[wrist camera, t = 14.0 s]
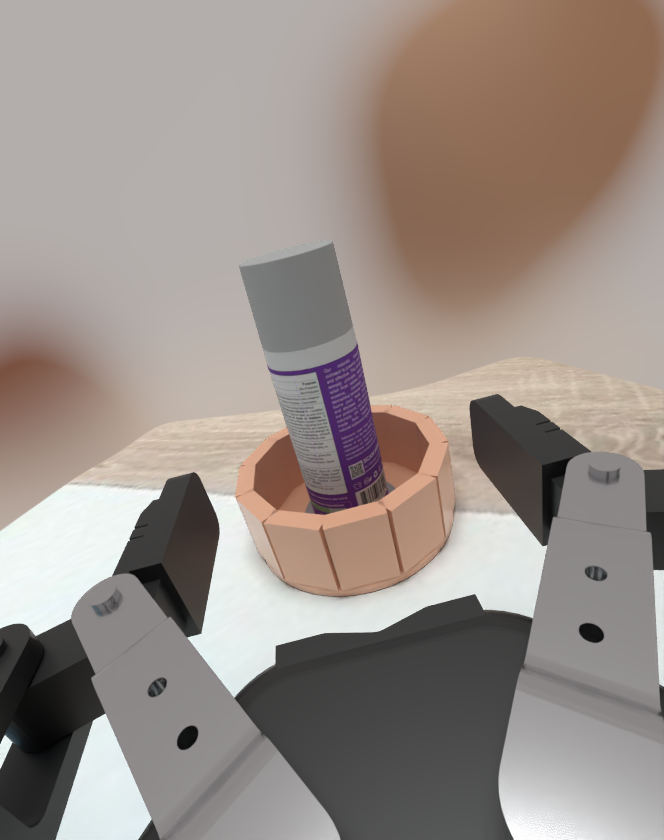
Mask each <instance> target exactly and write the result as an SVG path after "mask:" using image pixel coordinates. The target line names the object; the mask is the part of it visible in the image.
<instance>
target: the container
mask: <svg viewBox="0 0 664 840" xmlns="http://www.w3.org/2000/svg"><path fill="white" fill-rule="evenodd" d="M239 268H240V271H241V275H242V278H243V282H244V285H245V289H246V292H247V296H248V299H249V302H250V306H251V309H252V312H253V316H254V320H255V323H256V327H257V330H258V334H259V337H260V340H261V344H262V348H263V351H264V355H265V358H266V361H267V366H268V369H269V372H270V375H271V378H272V381H273V384H274V388H275V391H276V394H277V397H278V400H279V403H280V406H281V410H282V413H283V416H284V419H285V422H286V425H287V429H288V432H289V435H290V438H291V441H292V444H293V447H294V451H295V454H296V457H297V460H298V463H299V466H300V469H301V473H302V476H303V479H304V482H305V485H306V488H307V491H308V495H309V498H310V501H311V504H312V507H313V510H314V513H315V514H319V515H326V514H330V513H334V512H338V511H342V510H346V509H349V508H353V507H357V506H361V505H365V504H368V503H372V502H376V501H379V500H381V499H382V498H384V497H385V496H386V495H388V494H389V493H388V488H387V483H386V478H385V473H384V469H383V464H382V459H381V454H380V450H379V445H378V440H377V435H376V430H375V426H374V421H373V416H372V411H371V406H370V402H369V397H368V392H367V387H366V383H365V378H364V373H363V368H362V364H361V359H360V354H359V350H358V344H357V341H356V337H355V333H354V329H353V325H352V320H351V316H350V312H349V307H348V303H347V299H346V295H345V290H344V287H343V282H342V278H341V274H340V270H339V265H338V261H337V257H336V253H335V249H334V244H333V241H320V242H314V243H309V244H304V245H300V246H296V247H291V248H288V249H284V250H280V251H276V252H273V253H269V254H266V255H263V256H259V257H257V258H253V259H251V260H248V261H246V262H243V263H241V264H240V265H239Z"/></svg>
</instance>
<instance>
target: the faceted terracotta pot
mask: <svg viewBox="0 0 664 840" xmlns="http://www.w3.org/2000/svg"><path fill="white" fill-rule="evenodd" d="M370 406H371V411H372V416H373V421H374V426H375V430H376V435H377V440H378V445H379V450H380V454H381V459H382V464H383V469H384V473H385V478H386V483H387V488H388V493H389V494H388V495H386V496H385V497H384V498H382V499H381V500H379V501H376V502H372V503H368V504H365V505H361V506H357V507H353V508H349V509H346V510H342V511H338V512H334V513H330V514H326V515H319V514H315V513H314V510H313V507H312V504H311V501H310V498H309V495H308V491H307V488H306V485H305V482H304V479H303V476H302V473H301V469H300V466H299V463H298V460H297V457H296V454H295V451H294V447H293V444H292V441H291V438H290V435H289V432H288V429H287V427H286V428H285V429H283V430H281V431H279V432H277V433H275V434H273V435H271V436H270V437H268V439H265V440H264V441H263V442H262V443H261V444H260V445H259V447H258V448H257V449H256V450H255V451H254V452H253V453H252V454H251V455H250V456H249V457H248V458H247V459H246V460H245V461H244V462H243V463H242V464H241V467H240V468H239V475H238V481H237V488H236V495H235V497H236V500H237V502H238V504H239V507H240V509H241V512H242V514H243V517H244V519H245V521H246V524H247V526H248V529H249V531H250V533H251V536H252V538H253V541H254V543H255V545H256V548H257V550H258V552H259V553H260V555H261V556H262V557H263V558H264V559H265V560H266V563H267V565H268V566H269V568H270V569H271V570H272V572H273V573H274V574H275V575H276V576H277V577H279V578H280V579H281V580H282V581H284V582H285V583H287V584H289V585H290V586H292V587H295V588H297V589H299V590H301V591H305V592H309V593H312V594H318V595H325V596H350V595H360V594H364V593H369V592H374V591H377V590H380V589H383V588H386V587H389V586H392V585H394V584H396V583H398V582H401V581H403V580H405V579H406V578H408V577H410V576H411V575H413V574H415V573H416V572H418V571H419V570H420V569H422V568H423V567H424V566H426V565H427V564H428V563H429V562H430V561H431V560H432V559H433V558H434V557H435V556H436V555H437V554H438V552H439V551H440V550H441V548H442V547H443V546H444V544H445V542H446V540H447V539H448V537H449V534H450V531H451V529H452V525H453V518H454V513H453V509H454V505H455V501H456V500H455V492H454V484H453V476H452V467H451V459H450V451H449V443H448V440H447V439H446V437H445V436H444V435H443V433H442V432H441V431H440V429H439V428H438V427H437V425H436V424H435V423H434V421H433V420H432V419H431V417H430V418H429V416H427V415H423V414H420V413H417V412H414V411H411V410H408V409H404V408H401V407H398V406H395V405H394V406H393V407H392V405H370Z"/></svg>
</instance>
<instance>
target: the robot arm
mask: <svg viewBox="0 0 664 840" xmlns="http://www.w3.org/2000/svg"><path fill="white" fill-rule="evenodd" d="M470 418H471V429H472V439H473V449H474V454H475V457H476V460H477V462H478V464H479V466H480V468H481V469H482V471H483V472H484V473H485V474H486V476H487V477H488V478H489V479H490V481H491V482H492V483H493V484H494V486H495V487H496V488H497V489H498V491H499V492H500V493H501V494H502V496H503V497H504V498H505V499H506V501H507V502H508V503H509V504H510V506H511V507H512V508H513V510H514V511H515V512H516V513H517V515H518V516H519V517H520V518H521V520H522V521H523V522H524V523H525V525H526V526H527V527H528V528H529V530H530V531H531V532H532V533H533V535H534V536H535V537H536V538H537V540H538V541H539V542H540V543H541V545H542V546H546V545H547V550H546V555H545V561H544V566H543V571H542V576H541V581H540V586H539V591H538V596H537V601H536V606H535V611H534V617H533V618H530V617H527V616H523V615H520V614H516V613H511V612H506V611H497V610H483V608H482V606H481V604H480V603H479V601H478V599H477V597H476V595H475V594H474V595H470V596H466V597H462V598H458V599H455V600H451V601H447V602H443V603H439V604H435V605H431V606H428V607H425V608H423V609H421V610H419V611H417V612H416V613H414V614H412V615H410V616H408V617H406V618H404V619H402V620H401V621H399V622H397V623H395V624H393V625H391V626H389V627H387V628H386V629H384V630H381V631H379V632H370V633H324V634H320V635H316V636H312V637H308V638H304V639H301V640H297V641H293V642H289V643H285V644H281V645H278V646H276V664H275V665H273V666H271V667H269V668H268V669H266V670H265V671H264V672H262V673H261V674H259V675H258V676H256V677H255V678H254V679H253V680H252V681H250V682H249V683H248V684H247V685H246V686H245V687H244V688H243V689H242V690H241V691H240V692H239V693H238V694H237V695H236V696H235V698H234V697H233V696H232V695H231V693H230V692H229V691H228V690H227V688H226V687H225V686H224V685H223V683H222V682H221V681H220V679H219V678H218V677H217V676H216V674H215V673H214V672H213V670H212V669H211V668H210V667H209V665H208V664H207V663H206V662H205V660H204V659H203V658H202V656H201V655H200V654H199V653H198V651H197V650H196V649H195V647H194V646H193V645H192V644H191V642H190V641H189V640H188V638H187V637H190V636H194V635H198V634H201V632H202V627H203V621H204V616H205V610H206V605H207V600H208V594H209V589H210V583H211V578H212V572H213V567H214V562H215V556H216V551H217V545H218V540H219V523H218V519H217V516H216V513H215V511H214V509H213V506H212V504H211V502H210V500H209V497H208V495H207V493H206V491H205V489H204V486H203V484H202V482H201V480H200V478H199V476H198V475H197V474H196V473H195V472H193V473H189V474H185V475H182V476H178V477H174V478H170V479H168V480H167V481H166V484H165V486H164V488H163V491H162V493H161V495H160V498H159V499H157V500H153V501H152V502H151V504H150V505H149V506H148V507H147V508H146V509H145V510H144V511H143V512H142V513H141V515H140V517H139V519H138V521H137V523H136V525H135V530H133V532H132V534H131V536H130V538H129V539H130V541H128V543H127V545H126V547H125V549H124V552H123V554H122V556H121V558H120V560H119V562H118V565H117V567H116V569H115V571H114V573H113V575H112V577H109V578H107V579H105V580H103V581H101V582H100V583H98V584H96V585H95V586H94V587H92V588H91V589H90V590H89V591H87V592H86V593H85V594H84V595H83V596H82V597H81V599H80V600H79V601H78V602H77V604H76V606H75V607H74V609H73V612H72V615H71V619H70V620H68V621H66V622H64V623H62V624H60V625H58V626H56V627H54V628H52V629H50V630H48V631H46V632H44V633H42V634H40V635H38V636H35V635H34V634H33V632H32V631H31V630H30V629H29V628H28V627H27V625H24V624H13V625H9V626H6V627H3V628H1V629H0V743H1V741H2V739H3V737H4V735H6V736H7V737H8V738H9V739H10V740H11V741H12V742H13V743H12V745H11V747H10V749H9V752H8V754H7V756H6V758H5V760H4V763H3V765H2V767H1V769H0V840H55V839H56V836H57V833H58V830H59V827H60V824H61V820H62V817H63V814H64V811H65V808H66V805H67V801H68V798H69V795H70V792H71V789H72V786H73V782H74V779H75V776H76V773H77V770H78V767H79V763H80V760H81V757H82V754H83V751H84V748H85V744H86V741H87V738H88V735H89V732H90V728H91V725H92V722H93V720H95V719H96V718H98V717H100V716H102V715H103V714H105V713H106V715H107V718H108V720H109V722H110V724H111V727H112V729H113V731H114V734H115V736H116V738H117V740H118V743H119V745H120V747H121V750H122V752H123V754H124V756H125V759H126V761H127V763H128V766H129V768H130V770H131V772H132V775H133V777H134V779H135V782H136V784H137V786H138V788H139V791H140V793H141V795H142V798H143V800H144V802H145V804H146V807H147V809H148V811H149V814H150V816H151V818H152V820H151V821H150V823H149V824H148V826H147V827H146V829H145V830H144V832H143V833H142V835H141V836H140V838H139V839H138V840H664V687H663V686H661V685H659V674H658V654H657V634H656V614H655V595H654V575H653V570H664V469H662V470H643V469H642V467H641V466H640V465H639V464H638V463H637V462H635V461H634V460H632V459H630V458H628V457H625V456H622V455H619V454H615V453H609V452H591V451H590V450H588V449H587V448H586V447H585V446H583V445H582V444H581V443H579V442H578V441H577V440H575V439H574V438H573V437H571V436H570V435H569V434H567V433H566V432H565V431H563V430H560V427H558V426H557V425H556V424H554V423H553V422H550V420H549V419H548V418H546V417H545V416H544V415H542V414H541V413H540V412H538V411H536V410H533V409H530V408H527V407H524V406H518V407H514V406H513V405H511V404H510V403H509V402H508V401H506V400H505V399H504V398H503V397H502V396H500V395H499V394H496V395H492V396H488V397H484V398H480V399H476V400H472V401H471V402H470Z"/></svg>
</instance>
